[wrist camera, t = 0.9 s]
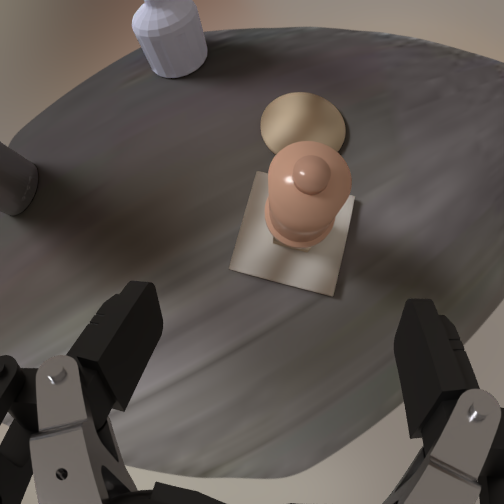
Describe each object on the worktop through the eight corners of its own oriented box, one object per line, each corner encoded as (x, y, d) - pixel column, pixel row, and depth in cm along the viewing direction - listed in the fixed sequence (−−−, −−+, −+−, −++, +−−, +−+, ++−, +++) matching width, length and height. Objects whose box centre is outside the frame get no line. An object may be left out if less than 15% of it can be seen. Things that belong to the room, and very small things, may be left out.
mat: (250, 153, 40) (250, 151, 39) (272, 87, 41) (272, 85, 40) (337, 175, 39) (338, 173, 38) (349, 106, 40) (350, 103, 39)
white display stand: (229, 269, 37) (218, 260, 30) (257, 174, 39) (253, 143, 31) (331, 296, 36) (347, 294, 28) (353, 199, 38) (371, 174, 30)
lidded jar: (256, 238, 30) (249, 206, 20) (274, 175, 31) (275, 119, 21) (325, 256, 29) (351, 232, 19) (339, 191, 30) (367, 143, 20)
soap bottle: (160, 41, 44) (113, -72, 20) (213, 38, 43) (183, -88, 19) (145, 80, 43) (79, -40, 19) (201, 78, 42) (158, -61, 18)
